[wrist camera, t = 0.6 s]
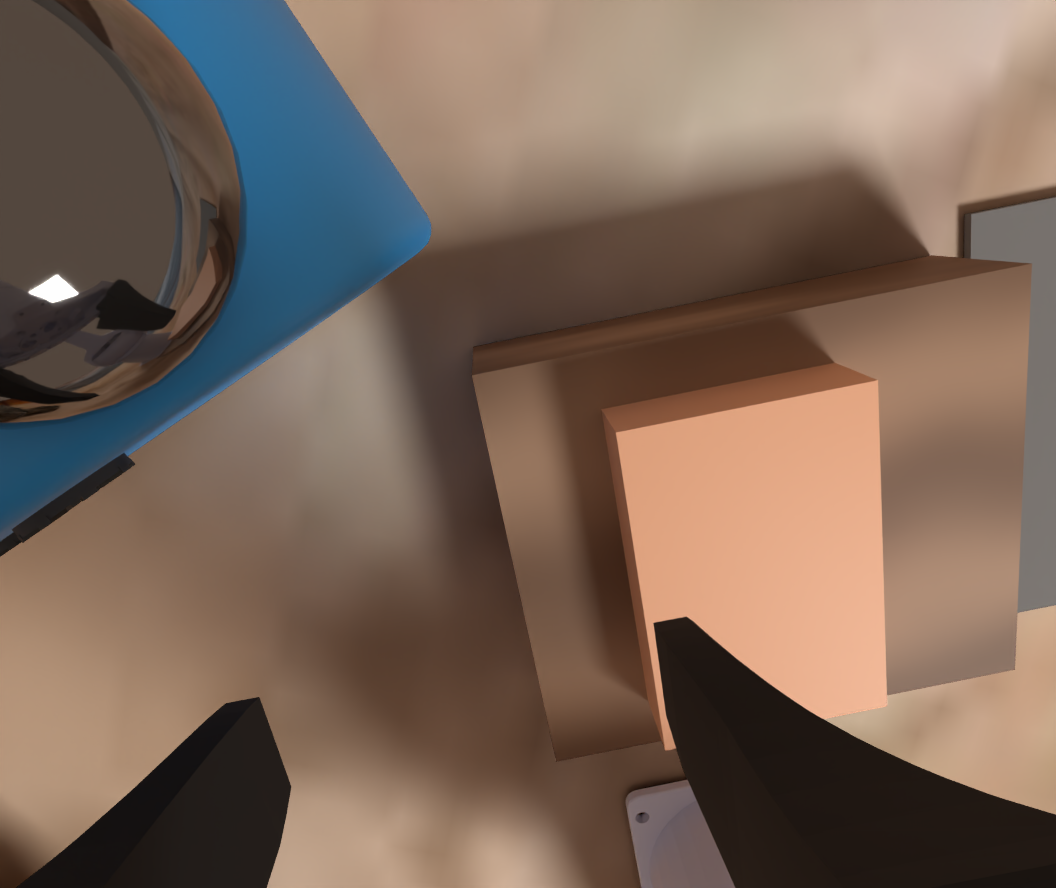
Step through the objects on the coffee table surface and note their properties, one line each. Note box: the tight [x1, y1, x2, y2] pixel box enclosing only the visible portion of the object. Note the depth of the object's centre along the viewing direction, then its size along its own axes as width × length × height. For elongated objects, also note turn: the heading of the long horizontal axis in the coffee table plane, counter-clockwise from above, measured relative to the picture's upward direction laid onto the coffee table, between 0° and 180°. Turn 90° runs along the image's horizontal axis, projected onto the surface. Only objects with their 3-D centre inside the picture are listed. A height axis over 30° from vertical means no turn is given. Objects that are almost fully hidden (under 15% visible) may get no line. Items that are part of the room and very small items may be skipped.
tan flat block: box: [472, 255, 1032, 762], centre depth 21 cm, size 12×14×4 cm
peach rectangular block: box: [601, 363, 887, 751], centre depth 18 cm, size 9×6×2 cm, turn 11°
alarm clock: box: [0, 0, 431, 557], centre depth 13 cm, size 13×6×15 cm, turn 123°
